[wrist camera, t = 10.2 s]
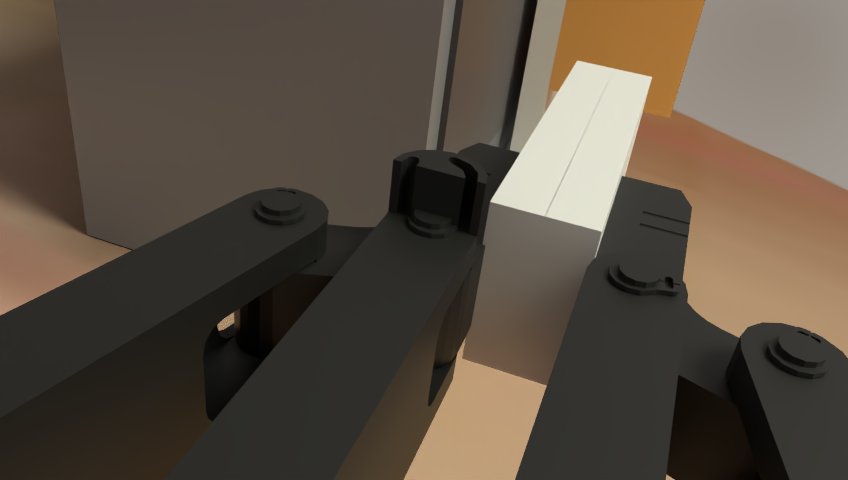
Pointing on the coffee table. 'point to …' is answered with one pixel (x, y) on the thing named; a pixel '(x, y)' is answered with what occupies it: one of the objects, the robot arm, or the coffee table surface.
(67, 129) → the coffee table surface
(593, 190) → the robot arm
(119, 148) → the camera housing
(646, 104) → the white boxy piece
